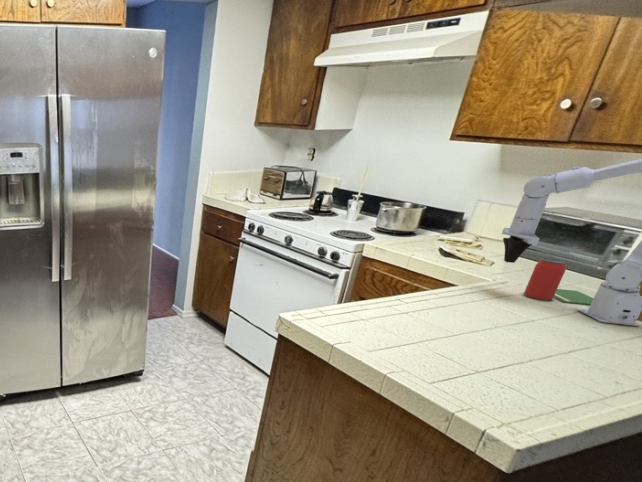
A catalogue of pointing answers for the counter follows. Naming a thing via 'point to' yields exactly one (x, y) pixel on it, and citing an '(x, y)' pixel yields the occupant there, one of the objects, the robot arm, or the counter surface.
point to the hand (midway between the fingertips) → (509, 261)
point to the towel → (572, 297)
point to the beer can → (545, 279)
